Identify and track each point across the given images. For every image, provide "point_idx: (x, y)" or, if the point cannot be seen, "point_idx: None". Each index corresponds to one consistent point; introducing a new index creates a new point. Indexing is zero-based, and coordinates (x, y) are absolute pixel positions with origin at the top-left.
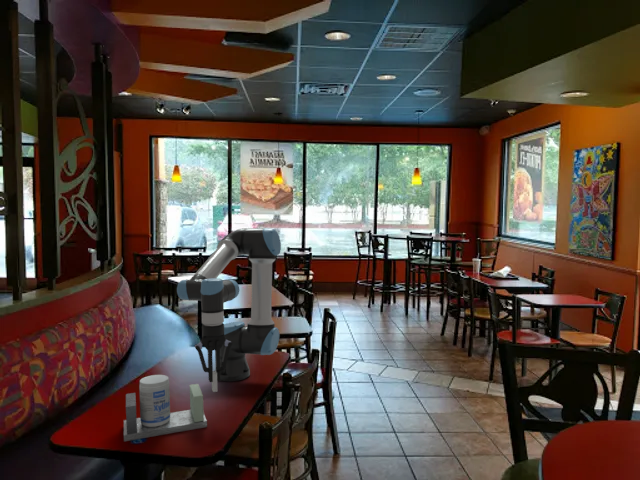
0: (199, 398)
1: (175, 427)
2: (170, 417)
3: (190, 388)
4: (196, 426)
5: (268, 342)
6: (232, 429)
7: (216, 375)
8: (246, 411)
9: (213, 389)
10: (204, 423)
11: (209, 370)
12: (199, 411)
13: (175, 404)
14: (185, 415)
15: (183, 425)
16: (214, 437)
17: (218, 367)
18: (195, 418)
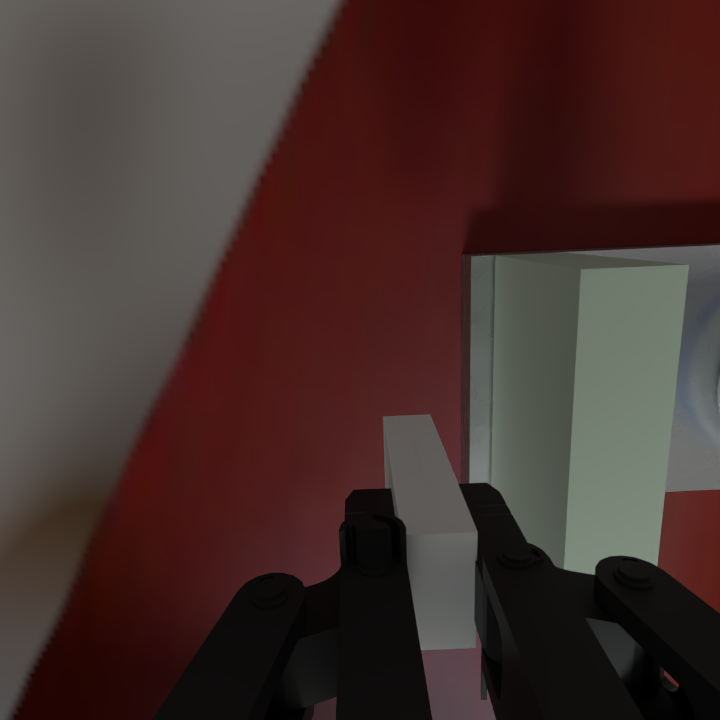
0: (608, 264)
1: (694, 245)
2: (700, 413)
3: (652, 549)
4: (539, 251)
5: None
6: (297, 143)
7: (407, 511)
8: (166, 409)
9: (430, 424)
10: (485, 254)
11: (552, 575)
12: (554, 258)
13: None
14: None
15: (640, 248)
16: (438, 54)
17: (375, 610)
18: (568, 253)
